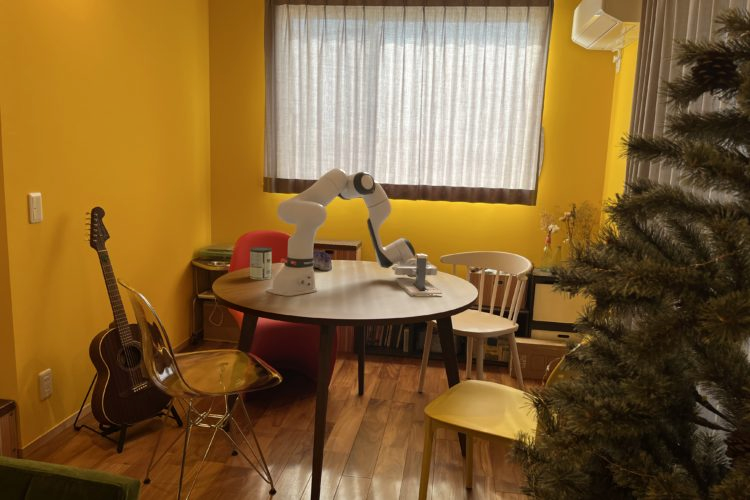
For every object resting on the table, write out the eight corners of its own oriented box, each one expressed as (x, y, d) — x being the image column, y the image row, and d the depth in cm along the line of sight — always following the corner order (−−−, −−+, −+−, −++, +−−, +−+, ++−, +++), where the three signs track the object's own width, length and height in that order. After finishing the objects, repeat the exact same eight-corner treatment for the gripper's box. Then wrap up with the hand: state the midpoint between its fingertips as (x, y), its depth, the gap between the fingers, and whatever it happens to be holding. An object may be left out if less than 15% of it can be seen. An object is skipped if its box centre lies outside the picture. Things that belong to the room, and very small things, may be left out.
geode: (340, 271, 293) (338, 252, 291) (319, 275, 288) (318, 256, 285) (324, 262, 311) (323, 245, 308) (305, 266, 305) (303, 248, 303)
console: (397, 282, 271) (397, 278, 271) (425, 282, 274) (425, 279, 273) (410, 296, 244) (411, 292, 244) (441, 296, 247) (442, 292, 246)
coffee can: (253, 274, 273) (253, 246, 271) (274, 276, 272) (274, 247, 270) (246, 279, 263) (246, 249, 260) (268, 280, 262) (268, 250, 259)
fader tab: (413, 288, 258) (415, 253, 256) (423, 288, 259) (425, 254, 256) (416, 290, 254) (418, 255, 251) (425, 290, 255) (427, 255, 252)
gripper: (391, 261, 268) (397, 266, 255) (432, 261, 272) (441, 267, 258) (390, 274, 269) (396, 280, 256) (431, 274, 273) (440, 280, 259)
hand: (419, 273), depth 257 cm, fingers closed, pressing on fader tab
